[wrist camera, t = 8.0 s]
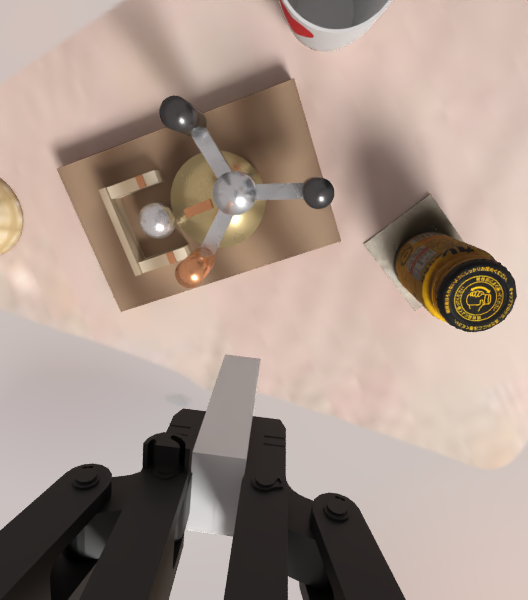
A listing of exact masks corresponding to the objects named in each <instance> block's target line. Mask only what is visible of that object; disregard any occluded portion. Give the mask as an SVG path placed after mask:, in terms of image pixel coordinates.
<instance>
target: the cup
mask: <svg viewBox="0 0 528 600" xmlns="http://www.w3.org/2000/svg"><path fill="white" fill-rule="evenodd" d="M392 1H393V0H279V4H280V7H281V11H282V13H283V15H284V18H285V20H286V21H287V23H288V25H289V27H290V29H291V31H292V32H293V34H294V35H295V37H296V38H297V39H298V40H299V41H300V42H301V43H302V44H304V45H305V46H307V47H309V48H311V49H313V50H317V51H323V52H328V51H335V50H338V49H341V48H343V47H345V46H346V45H348V44H350V43H351V42H353V41H355V40H356V39H358V38H359V37H361V36H362V35H363V34H365V33H366V32H367V31H368V30H369V29H370V28H371V26H372V25H373V24H374V23H375V22H376V20H377V19H378V18H379V17H380V16H381V14H382V13H383V12H384V11H385V10H386V8H387V7H388V6H389V5H390V3H391V2H392Z"/></svg>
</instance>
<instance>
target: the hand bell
mask: <svg viewBox="0 0 528 600" xmlns="http://www.w3.org/2000/svg"><path fill="white" fill-rule="evenodd" d="M22 228H23V212H22V209H21V206H20V203H19V201H18V199H17V197H16V195H15V194H14V192H13V191H12V189H11V188H10V187H9V186H8V185H7V184H6V183H5V182H4V181H2V180H1V179H0V255H1V254H3V253H5V252H7V251H9V250H10V249H11V248H12V247H13V246H14V245H15V244H16V243H17V242H18V240H19V238H20V236H21V233H22Z"/></svg>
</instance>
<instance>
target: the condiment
mask: <svg viewBox="0 0 528 600" xmlns="http://www.w3.org/2000/svg"><path fill="white" fill-rule="evenodd" d="M436 229H437V230H436ZM395 244H396V247H394V245H395ZM364 245H365V247H366V248H367V249H368V250H369V252H370V253H371V254H372V256H373V257H374V258H375V260H376V261H377V262H378V263H379V265H380V266H381V267H382V269H383V270H384V271H385V273H386V274H387V275H388V277H389V278H390V279H391V281H392V282H393V283H394V285H395V286H396V287H397V288H398V290H399V291H400V292H401V294H402V295H403V296H404V298H405V299H406V300H407V302H408V303H409V304H410V306H411V307H412V308H413V309H414V311H416V310H417V309H418V308H420V307H421V306H424V307H425V308H426V309H427V310H428V311H429V312H430V313H431V314H432V315H433V316H435V317H437V318H438V319H440V320H442V321H444V322H447V323H449V324H450V325H452V326H455V327H456V328H457V329H461V330H463V331H466V332H478V331H484V330H487V329H490V328H492V327H493V326H495V325H497V324H499V323H500V322H502V321H503V320H505V318H506V316H507V315H508V314H509V313H510V312H511V310H512V308H513V305H514V302H515V299H516V297H517V295H516V285H515V280H514V278H513V277H512V276H511V273H510V272H509V271H508V270H507V268H506V267H504V266H502V265H501V263H500V262H497V261H496V260H495V259H494V258H493V257H492V256H491V255H490V254H489V253H487V252H486V251H484V250H481V249H479V248H477V247H474V246H472V245H469V244H467V243H464V242H463V240H462V239H461V237H460V236H459V235H458V233H457V232H456V230H455V229H454V227H453V226H452V224H451V223H450V222H449V220H448V219H447V217H446V216H445V214H444V213H443V211H442V210H441V209H440V207H439V206H438V204H437V203H436V201H435V200H434V198H433V197H432V196H431V194H430V195H429V196H427V197H426V198H425V199H423V200H422V201H420V202H419V203H418V204H416V205H415V206H414V207H412V208H411V209H410V210H408V211H407V212H405V213H404V214H403V215H402V216H400V217H399V218H398V219H396V220H395V221H394V222H392V223H391V224H389V225H388V226H387V227H386V228H385V229H383V230H382V231H381V232H379V233H378V234H377V235H375V236H374V237H373V238H372V239H370V240H369V241H368V242H366V243H365V244H364ZM395 249H396V251H394V250H395Z"/></svg>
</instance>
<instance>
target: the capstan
mask: <svg viewBox="0 0 528 600" xmlns="http://www.w3.org/2000/svg"><path fill="white" fill-rule="evenodd" d="M160 118H161V120H162V122H163V124H164V125H165V126H166V127H168V128H169V129H172V130H174V131H177V132H180V133H182V134H185V135H188V136H190V137H192V138H193V140H194V141H195V143H196V145H197V146H198V148H199V149H200V151H201V153H200V154H197V155H195V156H193V157H192V158H190V159H189V160H188V161H187V162H186V163H184V164H183V166H182V167H181V168H180V169H179V171H178V172H177V174H176V176H175V178H174V181H173V184H172V188H171V207H172V211H173V214H174V217H175V219H176V221H177V223H178V225H179V226H180V228H181V229H182V230H183V231H184V232H185V233H186V234H187V235H188V236H189V237H190V238H191V239H193V240H194V241H196V242H198V243H200V244H202V245H201V247H199V248H197V249H196V250H194V251H193V252H192V253H191V254H190V255H189V256H187V257H186V258H185V259H184V260H183V261H182V262H180V263H179V264H178V265H177V267H176V269H175V277H176V280H177V281H178V283H179V284H180V285H182V286H183V287H186V288H194V287H196V286H198V285H199V284H200V283H201V282H202V281H203V279H204V278H205V277H206V275H207V274H208V273H209V271H210V270H211V269H212V268H213V266H214V265H215V261H216V258H215V253H216V251H217V249H218V248H225V247H231V246H234V245H237V244H239V243H241V242H243V241H244V240H246V239H247V238H248V237H249V236H251V235H252V234H253V232H254V231H255V230H256V229H257V227H258V226H259V224H260V222H261V220H262V218H263V215H264V212H265V207H266V200H283V199H304V200H305V202H306V203H307V205H309V206H310V207H311V208H314V209H323V208H325V207H327V206H328V205H329V204H330V203H331V202H332V200H333V198H334V188H333V186H332V184H331V183H330V182H329V181H328V180H326V179H324V178H319V177H310V178H308V179H306V180H305V181H304V182H300V183H270V184H263V181H262V179H261V177H260V175H259V173H258V172H257V170H256V169H255V168H254V167H253V166H252V165H251V164H250V163H249V162H248V161H247V160H245V159H244V158H242V157H240V156H238V155H236V154H233V153H230V152H226V151H220V149H219V147H218V146H217V144H216V142H215V141H214V139H213V138H212V136H211V134H210V133H209V131H208V129H207V128H206V126H207V121H206V117H205V115H204V114H203V113H202V112H201V111H200V110H198V109H197V108H196V107H194V106H193V105H191V104H190V103H189V102H187V101H186V100H184V99H183V98H181V97H179V96H170V97H168V98H166V99H165V100H164V101H163V102H162V104H161V107H160Z"/></svg>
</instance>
